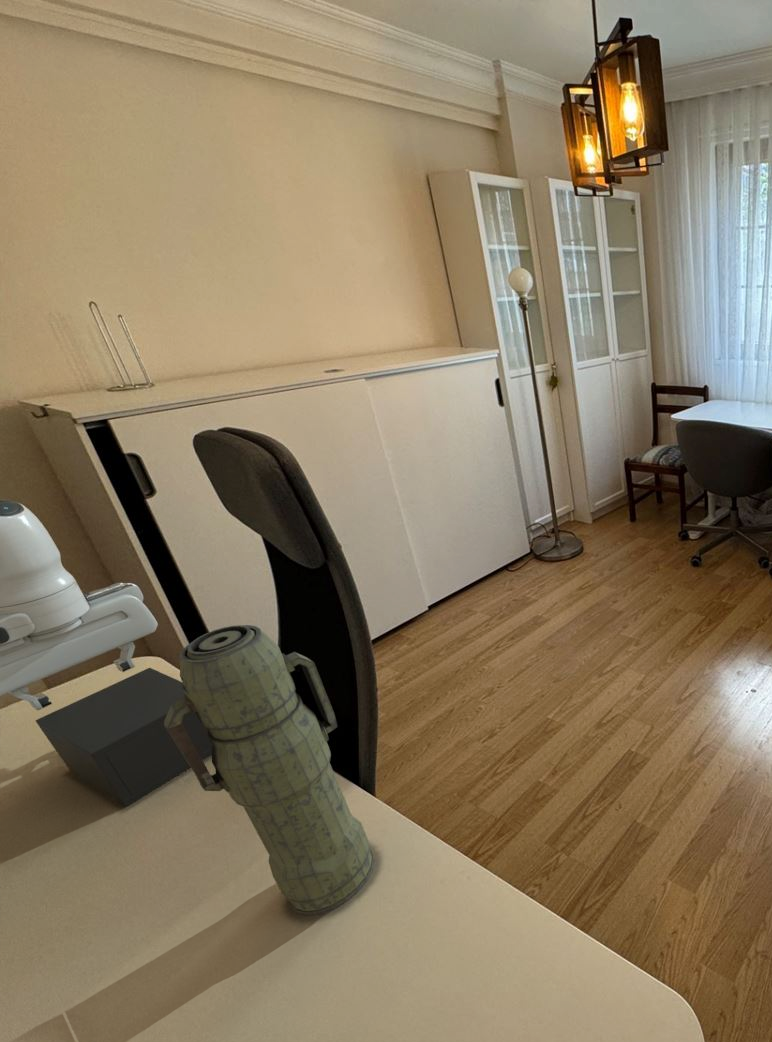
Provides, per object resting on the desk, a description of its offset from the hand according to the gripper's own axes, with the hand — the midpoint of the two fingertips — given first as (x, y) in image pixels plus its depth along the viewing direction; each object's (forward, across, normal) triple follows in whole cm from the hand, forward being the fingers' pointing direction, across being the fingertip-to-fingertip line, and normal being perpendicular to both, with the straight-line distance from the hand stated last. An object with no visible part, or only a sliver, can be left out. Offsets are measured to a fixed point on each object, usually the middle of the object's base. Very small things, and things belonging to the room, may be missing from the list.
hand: (87, 686), depth 84 cm
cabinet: (+10, 0, +10) cm, 14 cm away
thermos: (+10, +2, +55) cm, 56 cm away
